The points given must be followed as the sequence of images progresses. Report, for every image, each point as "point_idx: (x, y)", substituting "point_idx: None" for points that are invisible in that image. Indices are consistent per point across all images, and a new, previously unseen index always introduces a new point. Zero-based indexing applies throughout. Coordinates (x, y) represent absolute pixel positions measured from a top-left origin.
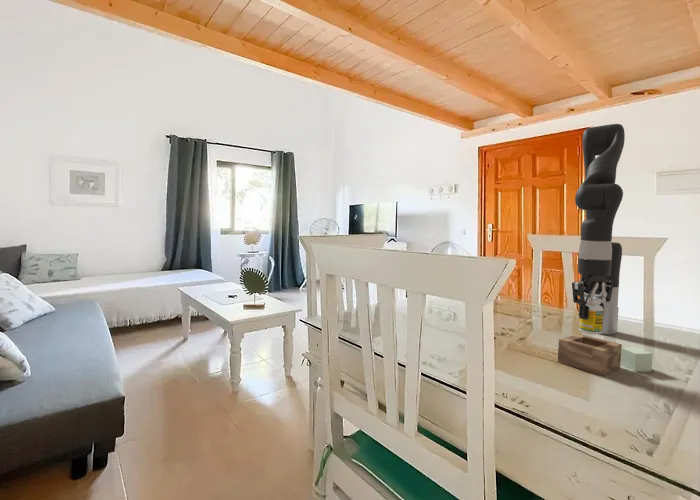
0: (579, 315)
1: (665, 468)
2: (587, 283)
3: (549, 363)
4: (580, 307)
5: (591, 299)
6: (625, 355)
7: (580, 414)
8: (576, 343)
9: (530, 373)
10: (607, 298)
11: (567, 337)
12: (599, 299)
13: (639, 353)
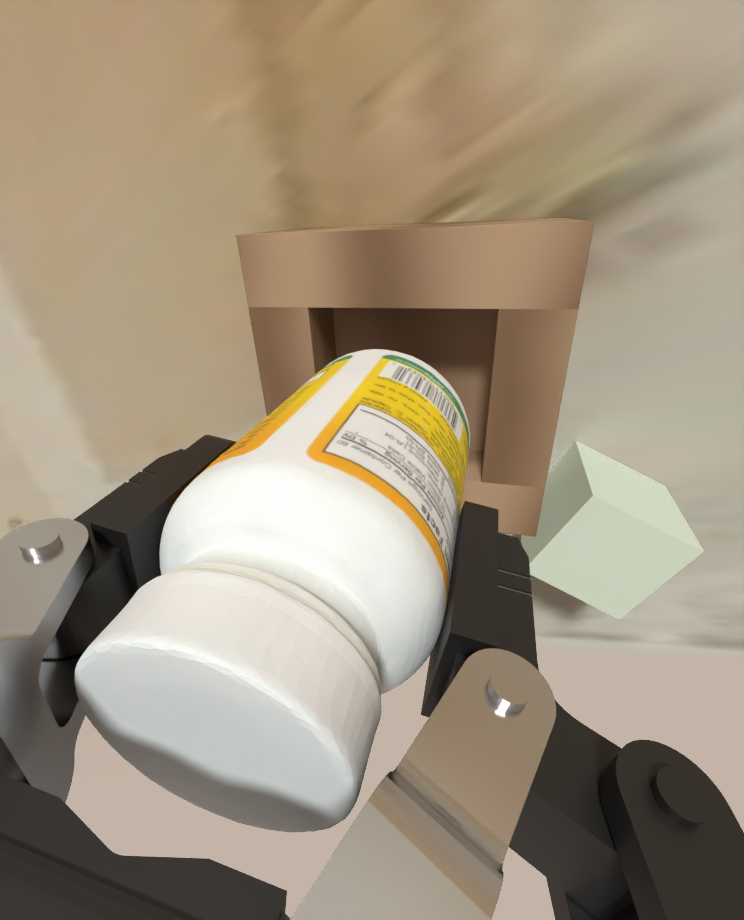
0: (167, 459)
1: None
2: None
3: (243, 218)
4: (88, 526)
5: (111, 734)
6: (557, 506)
7: (38, 496)
8: (271, 365)
9: (61, 255)
10: (551, 897)
11: (353, 240)
12: (217, 811)
13: (547, 581)
